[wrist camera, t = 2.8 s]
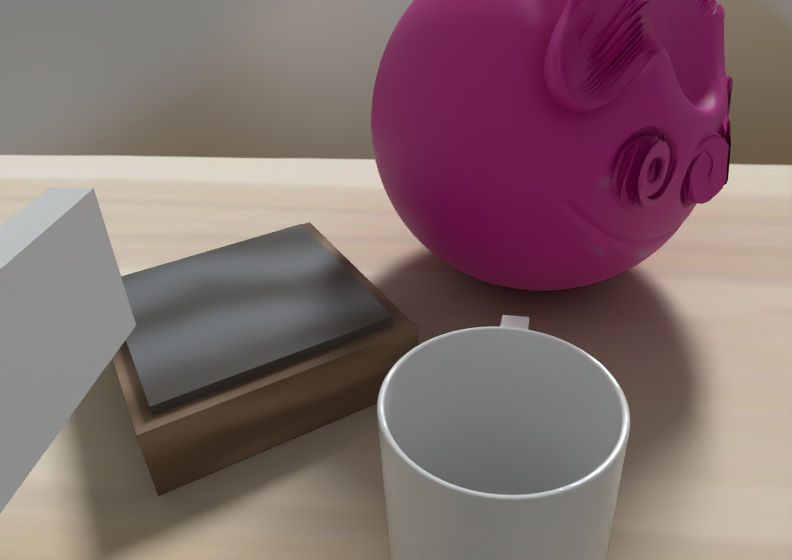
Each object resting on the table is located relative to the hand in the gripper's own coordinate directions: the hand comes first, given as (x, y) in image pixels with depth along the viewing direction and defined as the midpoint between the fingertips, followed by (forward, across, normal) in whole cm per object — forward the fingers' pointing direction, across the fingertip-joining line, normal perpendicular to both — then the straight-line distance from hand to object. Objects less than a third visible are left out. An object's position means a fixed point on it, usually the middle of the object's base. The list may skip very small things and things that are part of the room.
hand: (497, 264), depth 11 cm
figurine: (+36, +5, -22) cm, 43 cm away
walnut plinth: (+24, -14, -22) cm, 36 cm away
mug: (+10, +1, -22) cm, 25 cm away
